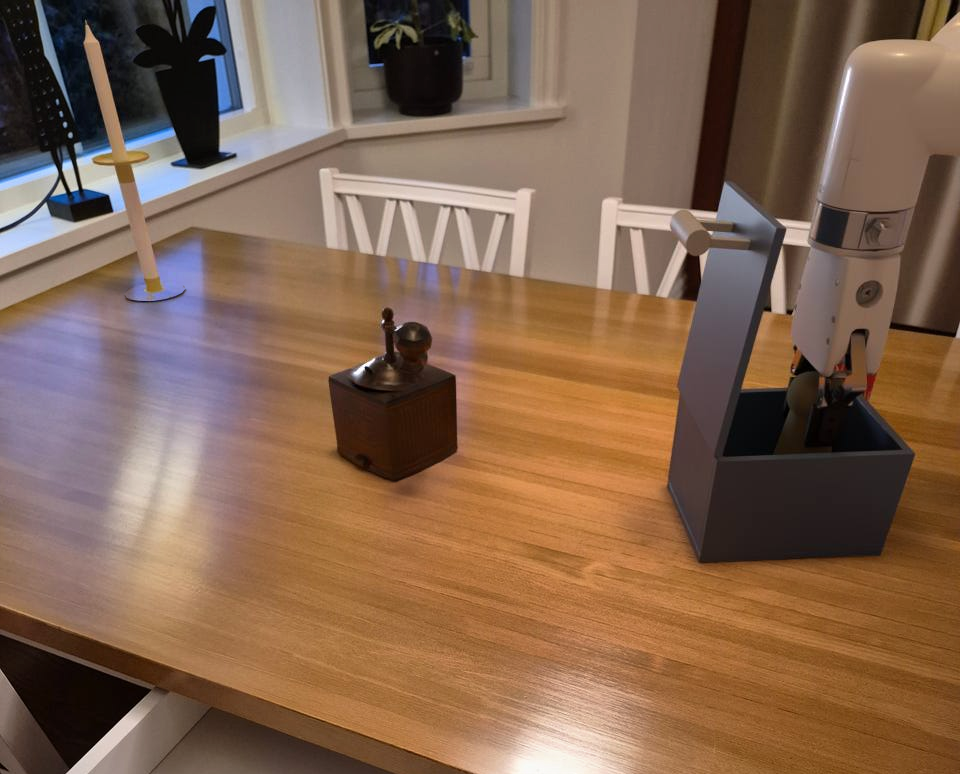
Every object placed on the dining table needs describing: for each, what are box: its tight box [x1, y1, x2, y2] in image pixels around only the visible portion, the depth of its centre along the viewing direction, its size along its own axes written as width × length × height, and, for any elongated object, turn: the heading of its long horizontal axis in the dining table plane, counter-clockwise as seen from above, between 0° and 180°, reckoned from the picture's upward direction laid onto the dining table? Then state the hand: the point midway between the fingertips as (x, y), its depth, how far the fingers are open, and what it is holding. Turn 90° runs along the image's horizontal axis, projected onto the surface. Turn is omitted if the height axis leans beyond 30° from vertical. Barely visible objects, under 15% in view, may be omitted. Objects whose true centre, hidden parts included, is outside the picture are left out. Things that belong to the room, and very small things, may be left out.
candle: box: [83, 19, 164, 300], centre depth 134 cm, size 10×10×38 cm
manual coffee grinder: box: [328, 307, 459, 481], centre depth 93 cm, size 16×11×18 cm
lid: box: [669, 180, 788, 457], centre depth 74 cm, size 19×15×6 cm
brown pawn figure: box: [773, 371, 844, 455], centre depth 82 cm, size 6×6×11 cm
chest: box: [666, 386, 916, 564], centre depth 84 cm, size 18×15×11 cm
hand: (809, 428), depth 82 cm, fingers closed on brown pawn figure, 5 cm apart
